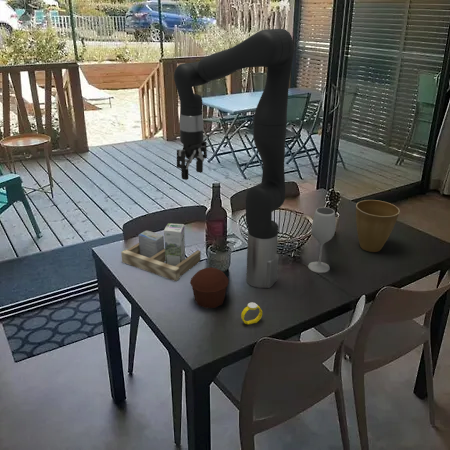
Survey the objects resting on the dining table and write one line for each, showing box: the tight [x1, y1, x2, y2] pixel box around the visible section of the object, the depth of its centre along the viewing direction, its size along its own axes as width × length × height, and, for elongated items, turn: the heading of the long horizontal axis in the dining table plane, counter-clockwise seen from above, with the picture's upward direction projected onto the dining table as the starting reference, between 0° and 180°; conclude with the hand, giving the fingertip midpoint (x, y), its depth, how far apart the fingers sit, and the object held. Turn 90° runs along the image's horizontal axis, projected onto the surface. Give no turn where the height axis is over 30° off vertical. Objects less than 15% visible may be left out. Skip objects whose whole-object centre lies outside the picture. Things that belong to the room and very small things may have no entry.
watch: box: [240, 301, 263, 325], centre depth 136 cm, size 6×3×6 cm, turn 113°
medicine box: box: [137, 230, 165, 258], centre depth 168 cm, size 8×4×9 cm, turn 58°
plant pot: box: [355, 199, 401, 253], centre depth 175 cm, size 15×15×16 cm
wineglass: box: [307, 206, 336, 274], centre depth 160 cm, size 8×8×21 cm
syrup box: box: [163, 222, 186, 266], centre depth 162 cm, size 6×6×14 cm
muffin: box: [189, 266, 230, 309], centre depth 144 cm, size 12×11×10 cm
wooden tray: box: [120, 242, 202, 282], centre depth 166 cm, size 23×15×4 cm, turn 59°
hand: (192, 175), depth 163 cm, fingers open, 8 cm apart
